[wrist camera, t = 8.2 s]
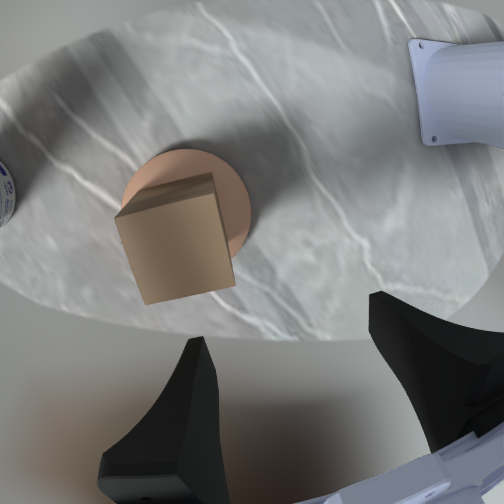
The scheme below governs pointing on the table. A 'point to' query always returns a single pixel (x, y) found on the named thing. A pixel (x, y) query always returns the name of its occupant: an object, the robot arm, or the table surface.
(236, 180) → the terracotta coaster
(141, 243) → the walnut block
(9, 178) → the energy drink
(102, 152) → the table surface
